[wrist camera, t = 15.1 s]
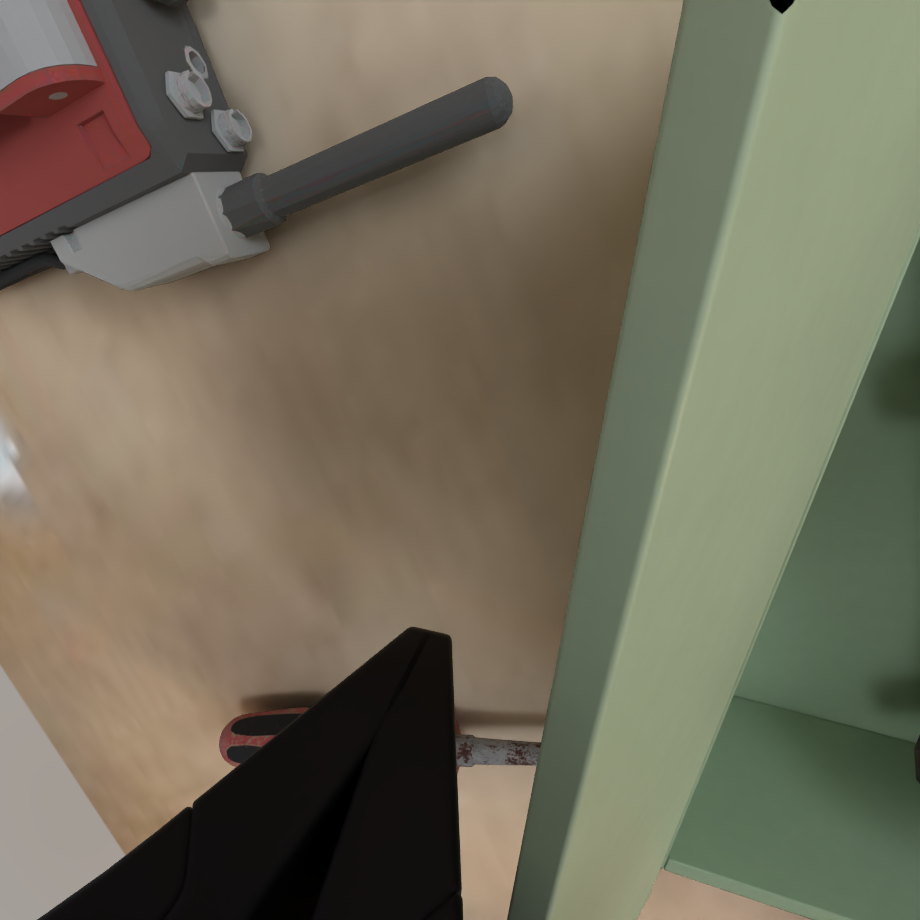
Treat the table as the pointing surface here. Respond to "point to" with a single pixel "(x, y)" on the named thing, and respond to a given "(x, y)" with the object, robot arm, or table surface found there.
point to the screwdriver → (263, 726)
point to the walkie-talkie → (163, 146)
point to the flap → (718, 411)
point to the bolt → (917, 759)
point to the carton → (832, 677)
